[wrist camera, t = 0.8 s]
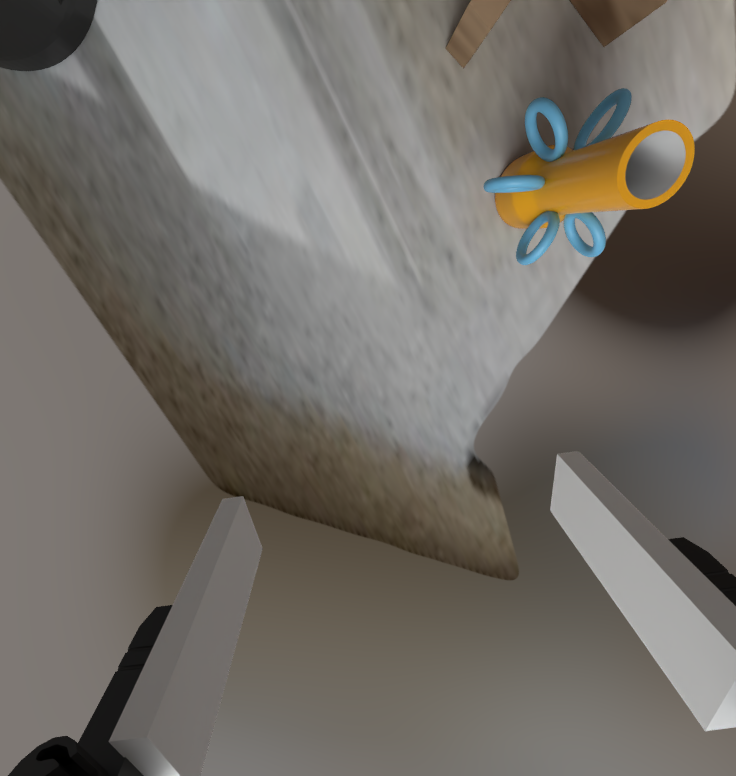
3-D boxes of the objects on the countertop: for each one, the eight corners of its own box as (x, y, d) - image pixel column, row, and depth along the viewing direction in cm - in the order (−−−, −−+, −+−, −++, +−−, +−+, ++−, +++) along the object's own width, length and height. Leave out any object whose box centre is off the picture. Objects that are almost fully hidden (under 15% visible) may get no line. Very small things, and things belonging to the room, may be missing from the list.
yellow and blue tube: (601, 217, 33) (776, 209, 20) (503, 282, 35) (599, 316, 22) (554, 82, 29) (738, -51, 15) (445, 165, 31) (519, 115, 17)
